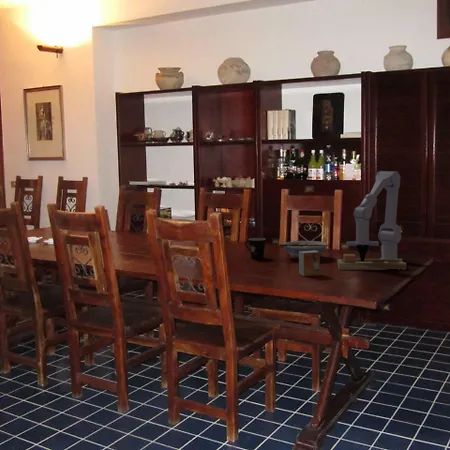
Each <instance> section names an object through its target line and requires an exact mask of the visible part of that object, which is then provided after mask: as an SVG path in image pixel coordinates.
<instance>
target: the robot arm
mask: <svg viewBox="0 0 450 450" xmlns="http://www.w3.org/2000/svg"><path fill="white" fill-rule="evenodd" d="M400 184H401V175H400V173H399V172H398V171H397V170H396V171H389V170H388V171H387V170H385V171H384V170H379V171H378V172H377V173H376V175H375V182H374V184H373V187H372V189H371V191H370V193H368V194H366V195H365V196H364V198H363V200H362V201H361V203H360V204H359V206H356V207H355V208H354V211H353V214H352V215H353V218H354V222H355V228H356V229H355V235H356V236H355V240H353V241H346V247H355V248H357V251H358V254H359V257H360V258H359V259H361V262H364V259H366V255H367V253H368V250H369V248H370V247H371V246H372V247H374V246H375V247H380V246H379V244H380V243H381V257H379V259H398V244H399V243H400V242H401V240H402V232H401V231H402V230H401V227H400V226H399V225H398V224H397V214H398V213H397V212H398V201H399V198H398V197H399V189H400V187H401V185H400ZM383 189H385V190H386V201H385V202H386V203H385V211H384V212H385V214H384V222H383V224H381V225H380V226H379V227H380V228H379V232H378V235H377V236H378V240H379V241H380V243H379V241H378V240H377V241H375V240H374V241H373V240H370V239H369V237H370V236H369V235H370V233H369V231H370V230H369V229H370V228H369V227H370V218H371V217H372V214H373V213H372V212H373V208H374V207H375V205H376V204H377V202H378V198H377V197H378V196H379V194H381V192H382V191H383Z"/></svg>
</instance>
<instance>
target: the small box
mask: <svg viewBox="0 0 450 450" xmlns="http://www.w3.org/2000/svg"><path fill="white" fill-rule="evenodd" d="M298 274H299V275H301V276H302V277H308V276H311V277H312V276H321V254H320V252H318V251H316V250H313V251H299V259H298Z"/></svg>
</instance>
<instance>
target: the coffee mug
mask: <svg viewBox="0 0 450 450" xmlns="http://www.w3.org/2000/svg"><path fill="white" fill-rule="evenodd" d="M244 243H245V247H246V249H248V251H249V252H250V253H249V254H250V258H252V259H251V260H263V259H264V258H265V248H266V238H264V237H252V238H248V240H246V241H245V242H244ZM247 243H249V245H247ZM248 246H249V247H248Z"/></svg>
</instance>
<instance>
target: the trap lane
mask: <svg viewBox="0 0 450 450" xmlns="http://www.w3.org/2000/svg"><path fill="white" fill-rule="evenodd" d="M337 267H338V270H339V271H356V270H357V271H359V270H360V271H362V270H363V271H365V270H366V271H369V270H370V271H373V270H374V271H379V270H380V271H381V270H383V271H384V270H386V271H387V269H388V271H389V269H398V271H400V269H402V271H403V270H407V262H406V261H405V262H404V261H403V258H397V259H380V258H365V259H364V262H361V259H360V258H355V263H344V258H338V259H337Z"/></svg>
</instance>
